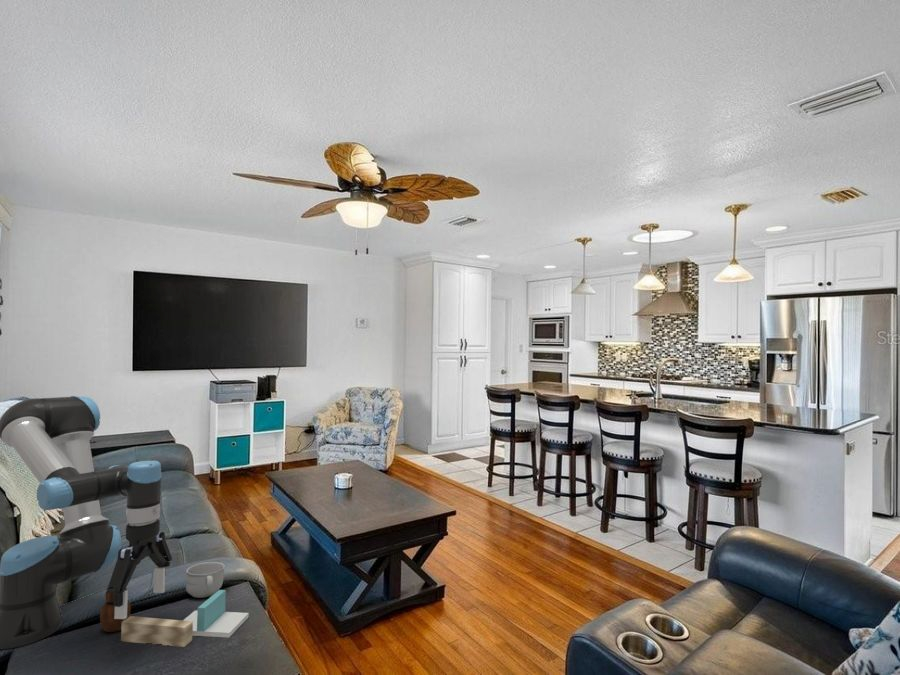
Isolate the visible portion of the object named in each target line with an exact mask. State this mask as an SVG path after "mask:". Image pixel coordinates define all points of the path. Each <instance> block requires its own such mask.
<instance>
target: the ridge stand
mask: <svg viewBox="0 0 900 675" xmlns="http://www.w3.org/2000/svg"><path fill="white" fill-rule="evenodd" d="M226 592H227V591H226V589H219V590H218V591H216V593H214V594H213V595H211V596H209V598H208V599H206V600H205V601H204V602H203V603H201V604H200V605H198V607H197V610H196V609H195V610H193V611H192V612H191V613H190V614H189V615H188V616H186V617H184V619H183V620H182V621H193V632H192V637H194V636H195V637H212V638H213V637H215V638H228V639H229V638H231V636H232V635H233V634H234V633H236V631H238V629H239V628H240V627H241V626H242V625H244V623H245V622H246V621H247V620H248V619H249V612H234V611H226V596H227V594H226Z"/></svg>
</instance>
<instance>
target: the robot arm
mask: <svg viewBox="0 0 900 675" xmlns="http://www.w3.org/2000/svg"><path fill="white" fill-rule="evenodd" d="M100 412H101V411H100V409H99V406H98V404H97V403H96V401H95V400H93V399H92V398H90V397H88V396H77V395H71V396H64V397H63V396H61V397H60V396H59V397H42V398H29V399H27V398H26V399H25V400H21V401H19V402H16V403H14V404H13V405H11V406H9V408H8V409H7V410H6V411H5V412H3V414H2V416H0V440H1V441H2V442H3V443H4V445H6V446H8V447H11V448H13V449H14V451H15V452H16V453H17V454H18V456H19V457H20V459H21V460H22V462H24V464H25V465H26V467H27V468H28V469H29V471H31V473H32V475H33V476H34V477H35V479H36V480H37V482H38V483H39V484H38V486H37V490H36V500H37V503H38V506H39V507H40V509H41V510H44V511H51V510H59V509H60V510H61V509H62V512H63V517H64V518H63V519H64V528H62V529H61V531H60V532H59V538H58V537H57V536H56V535H44V536H41V537H38V536H37V537H35V538H30V539H28V540H24V541H22V542H20V543H17V544H15V545H13V546H12V547H10V548H9V549H7V550H6V551H5V552H3V554H2V556H1V558H0V650H7V649H13V648H14V649H15V648H19V647H23V646H27V645H30V644H33V643H36V642H38V641H40V640H43V639H45V638H47V637H50V636H51V635H53V634H54V633H56V632H57V631H58V630H59V629H60V628H61V627H62V625H63V622H64V620H63V618H64V614H63V612H62V610H61V607H60V604H59V601H58V599H57V585H58V584H59V585H60V583H65V582H68V581H71V580H74V579H77V578H80V577H82V576H86V575H88V574H92V573H96V572H99V571H100V570H103V569H106V568H108V567H110V566H111V565H113V564H114V563H115V562H116V563H115V566H114V568H113V571H112V573H111V577H110V579H109V582H108V586H107V588H106V591H105V593H106V592H107V593H113V594H114V607H115V616H114V619H126V618H127V601H129V600H128V596H129V594H128V593H129V591H128V589H127V590H125V589H126V588H127V586H128V585H129V583H130V581H131V579H132V576H133V575H134V573H135V570H136V568H137V566H138V565H139V564H140V563H141V562H142V560H144V559H145V558H147V557H148V558H149V559H150V560H151V561H152V562H153V563H154V566H156V567H153V568H154V569H153V593H154V594H163V593H165V589H166V588H165V587H166V586H165V585H166V574H167V573H166V569H167V567H170V565H171V562H172V560H173V557H172V555H171V554H172V553H171V552H170V549H169V547H168V546H169V545H168V544H167V541H166V537H165V536H166V535H165V534H166V533H165V532H164V531H160V528H161V525H160V524H161V521H160V519H159V518H161V508H160V507H161V490H162V467H161V466H162V464H161V462H159V461H158V460H140V461H136V462H135V461H134V462H132V463H130V464H128V465H126V464H117V465H112V466H110V467H108V468H106V469H100V470H96V471H95V469H94V461H93V455H92V450H91V442H90V440H91V439H92V438H93V437H94V435H95V431H97V430H98V429H99V427H100V425H101V421H100V420H101V413H100ZM118 496H124V497H126V509H125V510H126V511H125V512H126V514H125V515H126V516H125V523H127V524H126V526H125V538H126V540H127V541H128V547H126V548H121V546H122V535H121V531H120V530H119V527H118V526H117V525H113V524H110V521H109V518H108V517H105V516H103V515H102V511H101V510H102V509H101V506H100V500H101V501H102V500H104V499H109V498H110V499H111V498H114V497H118ZM121 585H122V587H121ZM113 587H114V588H113Z"/></svg>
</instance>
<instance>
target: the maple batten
mask: <svg viewBox="0 0 900 675" xmlns="http://www.w3.org/2000/svg"><path fill="white" fill-rule="evenodd" d="M120 631H121V632H120V634H121V635H120V642H124V643H125V642H126V643H134V644H135V643H137V644H146V643H152V644H151V645H156V644H162V645H161V646H167V645H169V647H180V648H185V647H186V646H187V645H189V644H190V643H191V642H192V641H193V636H192V632H193V621H183V620H181V619H179V620H178V619H169V618H157V617H147V616H146V617H144V616H135V615H130V617H129V618H127V619H126V620H124V621H123V622H122V628H121V630H120Z"/></svg>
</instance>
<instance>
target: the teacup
mask: <svg viewBox="0 0 900 675" xmlns="http://www.w3.org/2000/svg"><path fill="white" fill-rule="evenodd" d="M225 565H226V564H224V563H222V562H219V561H206V562H199V563H195V564H193V565H191V566H189V567H188V568H186V574H185V576H186V577H185V578H186V579H185V590H186V592H187V593H188V595H190V596H192V597H193V598H198V599H201V598H203V599H204V598H207V597H211V596H212V595H214V594H215V593H216V592H217V591H218V590H221V589H220V588H222V586H223V583H224V575H225V568H226V566H225Z"/></svg>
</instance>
